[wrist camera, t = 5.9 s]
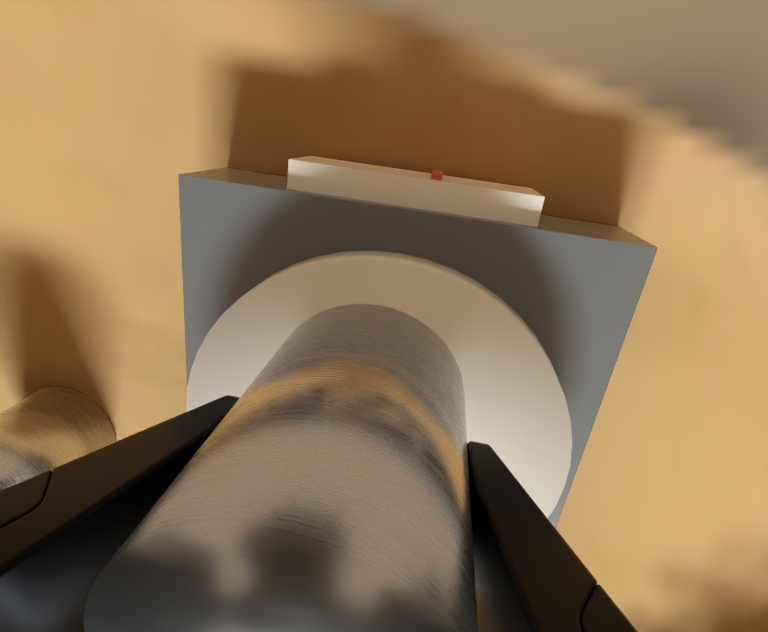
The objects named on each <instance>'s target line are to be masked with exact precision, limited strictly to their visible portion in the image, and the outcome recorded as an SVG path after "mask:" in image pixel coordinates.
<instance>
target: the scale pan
mask: <svg viewBox="0 0 768 632" xmlns="http://www.w3.org/2000/svg"><path fill="white" fill-rule="evenodd" d="M348 304H373V305H380V306H385V307H389V308H393V309H395V310H398V311H401V312H404V313H406V314H408V315H410V316H412V317H414V318H416V319H418V320H419V321H420V322H422V323H423V324H425V325H426V326H428V327H429V328H430V329H431V330H432V331H434V332H435V333H436V334H437V335H438V336H439V337H440V338H441V339H442V341H443V342H444V343H445V344H446V345H447V347H448V348H449V350H450V351H451V353H452V354H453V356H454V358H455V360H456V362H457V364H458V366H459V369H460V372H461V375H462V379H463V386H464V396H465V414H466V431H467V443H468V442H470V441H474V442H479V443H484V444H488V445H490V446H491V447H492V449H493V450H494V451H495V452H496V454H497V455H498V456H499V458H500V459H501V460H502V461H503V463H504V464H505V465H506V466H507V468H508V469H509V470H510V471H511V473H512V474H513V475H514V477H515V478H516V479H517V480H518V482H519V483H520V484H521V485H522V487H523V488H524V489H525V490H526V492H527V493H528V494H529V496H530V497H531V498H532V499H533V501H534V502H535V503H536V504H537V506H538V507H539V508H540V509H541V511H542V512H543V513H544V515H545V516H546V517H547V518H548V517H549V516H550V514H551V513H552V511H553V510H554V508H555V507H556V505H557V502H558V500H559V498H560V496H561V494H562V491H563V489H564V487H565V483H566V480H567V476H568V472H569V468H570V463H571V453H572V431H571V419H570V415H569V411H568V406H567V402H566V398H565V395H564V393H563V390H562V388H561V385H560V383H559V381H558V378H557V376H556V373H555V371H554V369H553V366H552V364H551V362H550V360H549V357H548V355H547V354H546V352H545V350H544V349H543V347H542V345H541V344H540V342H539V340H538V339H537V337H536V335H535V334H534V333H533V331H532V330H531V329H530V328H529V327H528V325H527V324H526V323H525V322H524V320H523V319H522V318H521V317H520V316H519V315H518V314H517V313H516V312H515V311H514V310H513V309H512V308H511V307H510V306H509V305H508V304H507V303H505V302H504V301H503V300H502V299H501V298H500V297H499V296H497V295H496V294H494V293H493V292H492V291H490V290H489V289H487V288H486V287H485V286H483V285H482V284H480V283H479V282H477V281H475V280H474V279H472V278H470V277H468V276H466V275H464V274H462V273H460V272H458V271H456V270H454V269H452V268H449V267H447V266H444V265H441V264H438V263H436V262H433V261H430V260H428V259H424V258H419V257H415V256H410V255H406V254H402V253H394V252H383V251H373V250H372V251H345V252H339V253H333V254H327V255H322V256H318V257H314V258H311V259H308V260H305V261H302V262H299V263H295V264H293V265H291V266H289V267H287V268H285V269H283V270H281V271H279V272H277V273H275V274H273V275H271V276H270V277H268V278H267V279H266V280H264V281H263V282H261V283H260V284H258V285H257V286H255V287H254V288H252V289H251V290H250V291H249V292H247V293H246V294H245V295H243V296H242V297H241V298H239V299H238V300H237V301H236V302H235V303H234V304H233V305H232V306H231V307H230V308H229V309H228V310H226V311H225V312H224V313H223V314H222V315H221V317H220V318H219V319H218V320H217V322H216V323H215V324H214V325H213V327H212V328H211V329H210V331H209V332H208V333H207V335H206V337H205V339H204V341H203V342H202V344H201V346H200V348H199V350H198V351H197V354H196V357H195V360H194V363H193V365H192V368H191V371H190V376H189V381H188V386H187V392H186V412H188V411H190V410H192V409H195V408H197V407H200V406H202V405H204V404H207V403H209V402H211V401H214V400H216V399H218V398H221V397H223V396H226V395H231V396H236V397H241V396H242V394H243V393H244V392H245V391H246V389H247V388H248V387H249V386H250V384H251V383H252V382H253V381H254V379H255V378H256V377H257V376H258V374H259V373H260V372H261V371H262V369H263V368H264V367H265V366H266V364H267V363H268V362H269V361H270V359H271V358H272V357H273V356H274V354H275V353H276V352H277V351H278V349H279V348H280V347H281V346H282V344H283V343H284V342H285V341H286V339H287V338H288V337H289V336H290V335H291V333H292V332H293V331H294V330H295V329H296V328H297V327H298V326H299V325H301V324H302V323H303V322H304V321H305V320H307V319H309V318H310V317H312V316H313V315H315V314H317V313H320V312H322V311H324V310H326V309H330V308H333V307H337V306H341V305H348Z"/></svg>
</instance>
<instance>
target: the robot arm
mask: <svg viewBox="0 0 768 632" xmlns="http://www.w3.org/2000/svg"><path fill="white" fill-rule="evenodd" d="M239 398H240V397H236V396H231V395H226V396H223V397H221V398H218V399H216V400H214V401H211V402H209V403H207V404H204V405H202V406H200V407H197V408H195V409H192V410H190V411H188V412H185V413H183V414H181V415H178V416H176V417H174V418H171V419H169V420H167V421H164V422H162V423H159V424H157V425H155V426H152V427H150V428H148V429H145V430H143V431H141V432H138V433H136V434H134V435H131V436H129V437H126V438H124V439H122V440H119V441H117V442H115V443H112V444H110V445H108V446H105V447H103V448H100V449H98V450H96V451H93V452H91V453H89V454H86V455H84V456H81V457H79V458H77V459H74V460H72V461H70V462H67V463H65V464H63V465H60V466H58V467H55V468H54V469H53V471H50V470H48V471H46V472H43V473H41V474H39V475H36V476H34V477H32V478H29V479H27V480H25V481H22V482H20V483H17V484H15V485H12V486H10V487H7V488H5V489H2V490H0V632H84V623H83V619H84V610H85V603H86V600H87V597H88V594H89V591H90V588H91V587H92V585H93V583H94V582H95V580H96V578H97V577H98V575H99V573H100V572H101V571H102V570H103V568H104V567H105V566H106V565H107V563H108V562H109V561H110V560H111V558H112V557H113V556H114V555H115V553H116V552H117V551H118V550H119V548H120V547H121V546H122V545H123V543H124V542H125V541H126V540H127V538H128V537H129V536H130V535H131V533H132V532H133V531H134V530H135V528H136V527H137V526H138V525H139V523H140V522H141V521H142V520H143V518H144V517H145V516H146V515H147V513H148V512H149V511H150V510H151V508H152V507H153V506H154V505H155V503H156V502H157V501H158V500H159V498H160V497H161V496H162V495H163V493H164V492H165V491H166V490H167V488H168V487H169V486H170V485H171V483H172V482H173V481H174V480H175V478H176V477H177V476H178V475H179V473H180V472H181V471H182V470H183V468H184V467H185V466H186V465H187V463H188V462H189V461H190V460H191V458H192V457H193V456H194V455H195V453H196V452H197V451H198V450H199V448H200V447H201V446H202V445H203V443H204V442H205V441H206V440H207V438H208V437H209V436H210V434H211V433H212V432H213V431H214V429H215V428H216V427H217V426H218V424H219V423H220V422H221V421H222V419H223V418H224V417H225V416H226V414H227V413H228V412H229V411H230V409H231V408H232V407H233V406H234V404H235V403H236V402H237V401H238V399H239ZM467 448H468V466H469V483H470V500H471V518H472V535H473V552H474V570H475V587H476V604H477V622H478V632H638V631H637V630H636V629H635V627H634V626H633V625H632V624H631V623H630V621H629V620H628V619H627V618H626V616H625V615H624V614H623V613H622V612H621V610H620V609H619V608H618V607H617V606H616V604H615V603H614V602H613V600H612V599H611V598H610V597H609V595H608V594H607V593H606V592H605V590H604V589H603V588H602V587H601V586H600V585H596V584H597V581H596V579H595V578H594V577H593V575H592V574H591V573H590V572H589V570H588V569H587V568H586V567H585V565H584V564H583V563H582V561H581V560H580V559H579V558H578V556H577V555H576V554H575V553H574V551H573V550H572V549H571V548H570V546H569V545H568V544H567V542H566V541H565V540H564V539H563V537H562V536H561V535H560V534H559V532H558V531H557V530H556V529H555V527H554V526H553V525H552V523H551V522H550V521H549V520H548V518H547V517H546V516H545V515H544V513H543V512H542V511H541V509H540V508H539V507H538V506H537V504H536V503H535V502H534V501H533V499H532V498H531V497H530V496H529V494H528V493H527V492H526V490H525V489H524V488H523V487H522V485H521V484H520V483H519V482H518V480H517V479H516V478H515V477H514V475H513V474H512V473H511V471H510V470H509V469H508V468H507V466H506V465H505V464H504V463H503V461H502V460H501V459H500V458H499V456H498V455H497V454H496V452H495V451H494V450H493V449H492V447H491V446H490V445H488V444H484V443H479V442H474V441H470V442H468V443H467Z"/></svg>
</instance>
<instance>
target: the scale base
mask: <svg viewBox="0 0 768 632" xmlns="http://www.w3.org/2000/svg"><path fill="white" fill-rule="evenodd" d="M443 172H444V171H440V170H433V172H432V173H425V172H418V171H411V170H404V169H398V168H391V167H384V166H377V165H370V164H363V163H357V162H350V161H343V160H336V159H329V158H322V157H316V156H306V157H299V158H292V159H289V160H288V177H287V176H280V175H273V174H267V173H260V172H253V171H247V170H240V169H233V168H220V169H213V170H206V171H199V172H192V173H185V174H179V196H180V220H181V244H182V269H183V293H184V318H185V342H186V366H187V386H188V381H189V376H190V371H191V368H192V365H193V363H194V360H195V357H196V354H197V351H198V350H199V348H200V346H201V344H202V342H203V341H204V339H205V337H206V335H207V333H208V332H209V331H210V329H211V328H212V327H213V325H214V324H215V323H216V322H217V320H218V319H219V318H220V317H221V315H222V314H223V313H224V312H225V311H226V310H228V309H229V308H230V307H231V306H232V305H233V304H234V303H235V302H236V301H237V300H238V299H239V298H241V297H242V296H243V295H245V294H246V293H247V292H249V291H250V290H251V289H252V288H254V287H255V286H257V285H258V284H260V283H261V282H263V281H264V280H266V279H267V278H268V277H270V276H271V275H273V274H275V273H277V272H279V271H281V270H283V269H285V268H287V267H289V266H291V265H293V264H295V263H299V262H302V261H305V260H308V259H311V258H314V257H318V256H322V255H327V254H333V253H339V252H345V251H372V250H373V251H383V252H394V253H402V254H406V255H410V256H415V257H419V258H424V259H428V260H430V261H433V262H436V263H438V264H441V265H444V266H447V267H449V268H452V269H454V270H456V271H458V272H460V273H462V274H464V275H466V276H468V277H470V278H472V279H474V280H475V281H477V282H479V283H480V284H482V285H483V286H485V287H486V288H487V289H489V290H490V291H492V292H493V293H494V294H496V295H497V296H499V297H500V298H501V299H502V300H503V301H504V302H505V303H507V304H508V305H509V306H510V307H511V308H512V309H513V310H514V311H515V312H516V313H517V314H518V315H519V316H520V317H521V318H522V319H523V320H524V322H525V323H526V324H527V325H528V327H529V328H530V329H531V330H532V331H533V333H534V334H535V335H536V337H537V339H538V340H539V342H540V344H541V345H542V347H543V349H544V350H545V352H546V354H547V355H548V357H549V360H550V362H551V364H552V366H553V369H554V371H555V373H556V376H557V378H558V381H559V383H560V385H561V388H562V390H563V393H564V395H565V398H566V402H567V406H568V411H569V415H570V419H571V431H572V453H571V463H570V468H569V472H568V476H567V480H566V483H565V487H564V489H563V491H562V494H561V496H560V498H559V500H558V502H557V505H556V507H555V508H554V510H553V511H552V513H551V514H550V516H549V517H548V520H549V521H550V522H551V523H552V525H553V526H554V527H555V529H556V526H557V523H558V520H559V518H560V515H561V512H562V509H563V507H564V504H565V501H566V498H567V496H568V493H569V490H570V487H571V485H572V482H573V479H574V476H575V474H576V471H577V468H578V465H579V463H580V460H581V457H582V454H583V452H584V449H585V446H586V443H587V441H588V438H589V435H590V432H591V430H592V427H593V424H594V421H595V419H596V416H597V413H598V410H599V408H600V405H601V402H602V399H603V397H604V394H605V391H606V388H607V386H608V383H609V380H610V377H611V375H612V372H613V369H614V366H615V364H616V361H617V358H618V355H619V353H620V350H621V347H622V344H623V342H624V339H625V336H626V333H627V331H628V328H629V325H630V322H631V320H632V317H633V314H634V312H635V309H636V306H637V303H638V301H639V298H640V295H641V292H642V290H643V287H644V284H645V281H646V279H647V276H648V273H649V270H650V268H651V265H652V262H653V259H654V257H655V254H656V251H657V247H656V246H654V245H652V244H650V243H648V242H646V241H644V240H643V239H641V238H639V237H637V236H635V235H633V234H632V233H630V232H628V231H626V230H624V229H622V228H620V227H619V226H612V225H606V224H599V223H592V222H586V221H579V220H572V219H566V218H559V217H553V216H546V215H541V211H542V207H543V203H544V199H545V196H543V195H541V194H540V193H538V192H537V191H535V190H534V189H532V188H528V187H521V186H514V185H507V184H500V183H493V182H487V181H480V180H473V179H466V178H459V177H452V176H446V175H443Z"/></svg>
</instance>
